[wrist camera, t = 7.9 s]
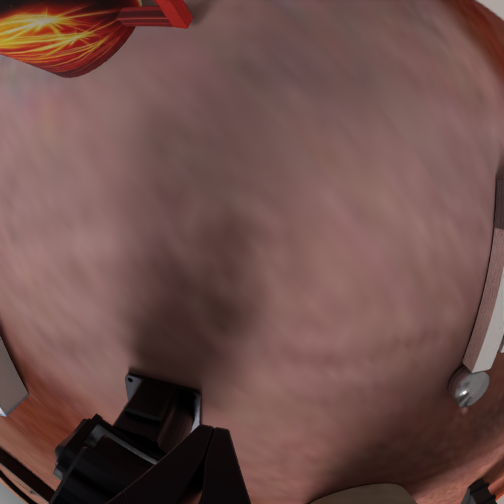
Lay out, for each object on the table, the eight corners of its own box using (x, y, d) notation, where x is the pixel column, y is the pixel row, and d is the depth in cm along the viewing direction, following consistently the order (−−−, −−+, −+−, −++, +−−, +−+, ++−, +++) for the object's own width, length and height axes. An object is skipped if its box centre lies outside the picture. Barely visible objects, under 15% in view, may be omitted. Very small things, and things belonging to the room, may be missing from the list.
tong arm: (470, 391, 19) (479, 403, 17) (442, 397, 19) (451, 410, 17) (519, 186, 15) (535, 187, 13) (492, 178, 15) (509, 179, 13)
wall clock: (28, 505, 38) (-33, 437, 32) (33, 498, 42) (-25, 430, 35) (101, 544, 34) (28, 480, 28) (106, 534, 38) (37, 469, 32)
